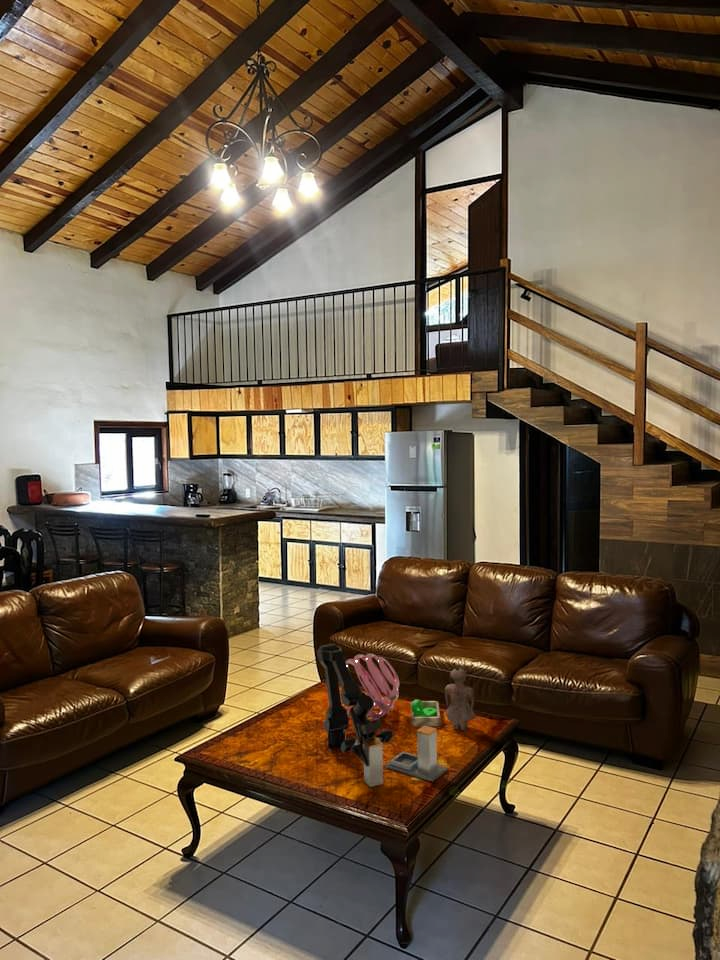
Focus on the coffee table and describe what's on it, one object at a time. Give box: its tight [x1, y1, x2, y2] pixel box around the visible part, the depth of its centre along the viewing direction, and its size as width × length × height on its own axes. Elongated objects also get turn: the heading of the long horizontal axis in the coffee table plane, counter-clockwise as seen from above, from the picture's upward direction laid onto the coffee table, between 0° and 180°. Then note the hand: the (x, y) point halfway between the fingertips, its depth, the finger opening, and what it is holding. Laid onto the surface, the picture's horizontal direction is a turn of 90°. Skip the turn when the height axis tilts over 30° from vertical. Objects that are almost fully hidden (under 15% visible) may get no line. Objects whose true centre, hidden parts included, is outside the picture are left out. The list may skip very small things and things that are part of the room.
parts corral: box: [410, 700, 441, 727], centre depth 303 cm, size 12×18×4 cm, turn 177°
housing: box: [384, 725, 448, 783], centre depth 256 cm, size 20×10×16 cm, turn 54°
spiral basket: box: [345, 653, 400, 721], centre depth 306 cm, size 28×28×27 cm
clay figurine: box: [444, 667, 476, 731], centre depth 290 cm, size 13×10×25 cm
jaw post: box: [363, 737, 384, 788], centre depth 248 cm, size 5×5×15 cm
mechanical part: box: [410, 699, 437, 717], centre depth 304 cm, size 12×6×8 cm, turn 138°
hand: (374, 764), depth 246 cm, fingers closed on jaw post, 5 cm apart
